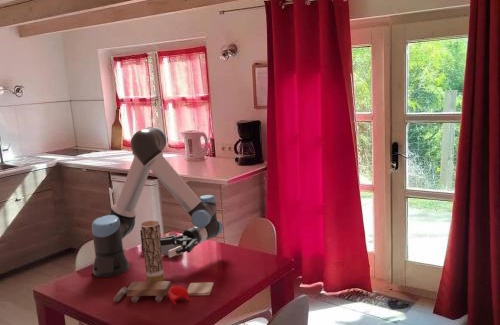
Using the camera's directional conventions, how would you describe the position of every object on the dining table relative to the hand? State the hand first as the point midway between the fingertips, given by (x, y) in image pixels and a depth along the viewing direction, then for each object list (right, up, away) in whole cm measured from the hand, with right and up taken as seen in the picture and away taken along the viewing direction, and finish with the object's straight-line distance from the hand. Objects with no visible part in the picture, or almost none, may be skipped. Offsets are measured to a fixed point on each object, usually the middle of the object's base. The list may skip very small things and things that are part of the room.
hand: (157, 251), depth 188 cm
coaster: (+18, -13, -8) cm, 24 cm away
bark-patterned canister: (-1, -13, +1) cm, 13 cm away
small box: (-11, -7, +44) cm, 46 cm away
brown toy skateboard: (-3, -15, -11) cm, 19 cm away
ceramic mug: (+1, -8, +33) cm, 34 cm away
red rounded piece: (+11, -15, -16) cm, 25 cm away
